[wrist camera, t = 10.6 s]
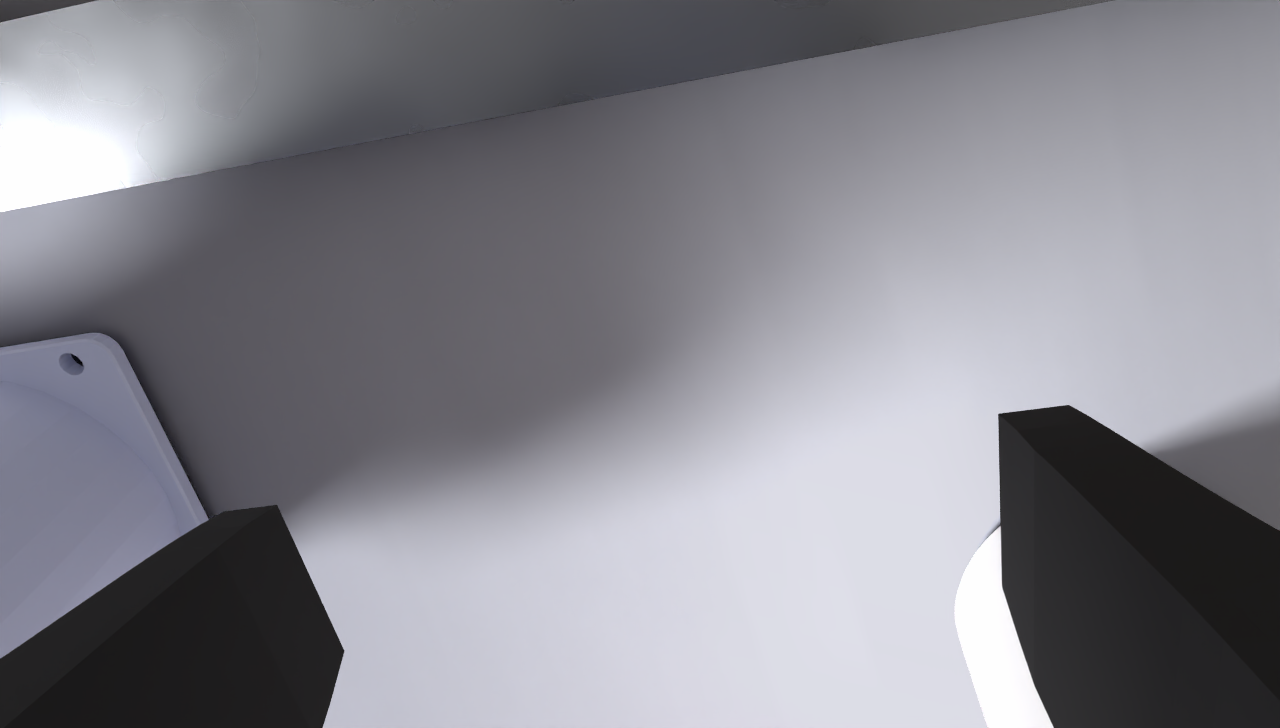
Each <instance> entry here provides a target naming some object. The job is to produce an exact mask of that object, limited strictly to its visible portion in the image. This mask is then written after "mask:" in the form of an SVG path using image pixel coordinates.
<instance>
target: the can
mask: <svg viewBox="0 0 1280 728" xmlns="http://www.w3.org/2000/svg"><path fill="white" fill-rule="evenodd" d="M955 622H956V627H957V632H958V636H959V640H960V643H961V646H962V650H963V653H964V656H965V659H966V662H967V665H968V669H969V672H970V675H971V678H972V681H973V684H974V687H975V690H976V693H977V697H978V700H979V703H980V706H981V709H982V712H983V715H984V718H985V721H986V724H987V727H988V728H1054V727H1053V725H1052V723H1051V721H1050V719H1049V717H1048V714H1047V712H1046V710H1045V708H1044V706H1043V703H1042V701H1041V699H1040V697H1039V695H1038V692H1037V690H1036V688H1035V686H1034V683H1033V680H1032V677H1031V674H1030V671H1029V668H1028V665H1027V662H1026V660H1025V657H1024V654H1023V651H1022V648H1021V645H1020V642H1019V639H1018V636H1017V632H1016V629H1015V626H1014V623H1013V620H1012V617H1011V614H1010V610H1009V607H1008V604H1007V601H1006V598H1005V595H1004V592H1003V588H1002V568H1001V525H1000V526H999V527H998V528H997V529H996V530H995V531H994V532H993V533H992V534H991V535H990V536H989V537H988V538H987V539H986V540H985V541H984V542H983V544H982V545H981V546H980V547H979V549H978V550H977V551H976V553H975V554H974V556H973V557H972V559H971V561H970V562H969V564H968V566H967V568H966V570H965V572H964V575H963V577H962V580H961V582H960V585H959V588H958V592H957V596H956V601H955Z"/></svg>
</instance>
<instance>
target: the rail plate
mask: <svg viewBox="0 0 1280 728" xmlns="http://www.w3.org/2000/svg"><path fill="white" fill-rule="evenodd" d="M1108 1H1113V0H97V1H92V2H88V3H84V4H79V5H75V6H70V7H66V8H62V9H57V10H53V11H48V12H44V13H39V14H35V15H31V16H26V17H22V18H17V19H13V20H9V21H4V22H0V212H2V211H8V210H13V209H18V208H23V207H29V206H34V205H39V204H44V203H50V202H55V201H60V200H65V199H71V198H76V197H81V196H87V195H92V194H97V193H102V192H108V191H113V190H118V189H123V188H129V187H134V186H139V185H144V184H150V183H155V182H160V181H165V180H171V179H176V178H181V177H187V176H192V175H197V174H202V173H208V172H213V171H218V170H223V169H229V168H234V167H239V166H244V165H250V164H255V163H260V162H266V161H271V160H276V159H281V158H287V157H292V156H297V155H302V154H308V153H313V152H318V151H323V150H329V149H334V148H339V147H344V146H350V145H355V144H360V143H366V142H371V141H376V140H381V139H387V138H392V137H397V136H402V135H408V134H413V133H418V132H423V131H429V130H434V129H439V128H444V127H450V126H455V125H460V124H466V123H471V122H476V121H481V120H487V119H492V118H497V117H502V116H508V115H513V114H518V113H523V112H529V111H534V110H539V109H545V108H550V107H555V106H560V105H566V104H571V103H576V102H581V101H587V100H592V99H597V98H602V97H608V96H613V95H618V94H623V93H629V92H634V91H639V90H645V89H650V88H655V87H660V86H666V85H671V84H676V83H681V82H687V81H692V80H697V79H702V78H708V77H713V76H718V75H723V74H729V73H734V72H739V71H745V70H750V69H755V68H760V67H766V66H771V65H776V64H781V63H787V62H792V61H797V60H802V59H808V58H813V57H818V56H824V55H829V54H834V53H839V52H845V51H850V50H855V49H860V48H866V47H871V46H876V45H881V44H887V43H892V42H897V41H902V40H908V39H913V38H918V37H924V36H929V35H934V34H939V33H945V32H950V31H955V30H960V29H966V28H971V27H976V26H981V25H987V24H992V23H997V22H1003V21H1008V20H1013V19H1018V18H1024V17H1029V16H1034V15H1039V14H1045V13H1050V12H1055V11H1060V10H1066V9H1071V8H1076V7H1081V6H1087V5H1092V4H1097V3H1103V2H1108Z"/></svg>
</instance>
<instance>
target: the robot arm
mask: <svg viewBox="0 0 1280 728" xmlns="http://www.w3.org/2000/svg"><path fill="white" fill-rule="evenodd" d="M71 354H73V355H75V356H77V357H78V358H79V359H80V360H81V361H82V362H83V366H81V365H80V364H78V363H76V362H75V361H74V359H73V358H72V356H71ZM998 419H999V469H1000V519H1001V568H1002V588H1003V592H1004V595H1005V598H1006V601H1007V604H1008V607H1009V610H1010V614H1011V617H1012V620H1013V623H1014V626H1015V629H1016V632H1017V636H1018V639H1019V642H1020V645H1021V648H1022V651H1023V654H1024V657H1025V660H1026V662H1027V665H1028V668H1029V671H1030V674H1031V677H1032V680H1033V683H1034V686H1035V688H1036V690H1037V692H1038V695H1039V697H1040V699H1041V701H1042V703H1043V706H1044V708H1045V710H1046V712H1047V714H1048V717H1049V719H1050V721H1051V723H1052V725H1053V727H1054V728H1280V531H1279V530H1277V529H1275V528H1273V527H1272V526H1270V525H1268V524H1266V523H1265V522H1263V521H1261V520H1259V519H1258V518H1256V517H1254V516H1252V515H1251V514H1249V513H1247V512H1246V511H1244V510H1242V509H1240V508H1239V507H1237V506H1235V505H1234V504H1232V503H1230V502H1229V501H1227V500H1225V499H1223V498H1222V497H1220V496H1218V495H1217V494H1215V493H1213V492H1212V491H1210V490H1208V489H1207V488H1205V487H1203V486H1202V485H1200V484H1198V483H1197V482H1195V481H1193V480H1192V479H1190V478H1188V477H1187V476H1185V475H1183V474H1182V473H1180V472H1179V471H1177V470H1175V469H1174V468H1172V467H1170V466H1169V465H1167V464H1166V463H1164V462H1162V461H1161V460H1159V459H1157V458H1156V457H1154V456H1153V455H1151V454H1149V453H1148V452H1146V451H1144V450H1143V449H1141V448H1140V447H1138V446H1136V445H1135V444H1133V443H1132V442H1130V441H1128V440H1127V439H1125V438H1123V437H1122V436H1120V435H1119V434H1117V433H1115V432H1114V431H1112V430H1111V429H1109V428H1107V427H1106V426H1104V425H1102V424H1101V423H1099V422H1097V421H1096V420H1094V419H1092V418H1091V417H1089V416H1087V415H1086V414H1084V413H1082V412H1080V411H1079V410H1077V409H1075V408H1073V407H1071V406H1069V405H1065V406H1057V407H1049V408H1041V409H1033V410H1025V411H1017V412H1009V413H1002V414H998ZM343 654H344V649H343V647H342V645H341V643H340V641H339V638H338V636H337V634H336V632H335V630H334V628H333V625H332V623H331V621H330V619H329V617H328V615H327V612H326V610H325V608H324V606H323V604H322V602H321V599H320V597H319V595H318V593H317V591H316V589H315V586H314V584H313V582H312V580H311V578H310V576H309V573H308V571H307V569H306V567H305V565H304V562H303V560H302V558H301V556H300V554H299V552H298V549H297V547H296V545H295V543H294V541H293V539H292V536H291V534H290V532H289V530H288V528H287V526H286V523H285V521H284V519H283V517H282V515H281V513H280V510H279V508H278V506H277V505H273V506H265V507H257V508H249V509H241V510H233V511H225V512H223V513H221V514H219V515H217V516H215V517H213V518H211V519H210V520H209V519H208V517H207V515H206V513H205V511H204V509H203V507H202V505H201V503H200V501H199V499H198V497H197V495H196V493H195V491H194V489H193V487H192V485H191V483H190V481H189V480H188V478H187V476H186V474H185V472H184V470H183V468H182V466H181V464H180V462H179V460H178V458H177V456H176V454H175V452H174V450H173V448H172V446H171V444H170V442H169V440H168V438H167V436H166V434H165V432H164V430H163V428H162V426H161V424H160V422H159V420H158V418H157V416H156V414H155V412H154V410H153V408H152V406H151V404H150V403H149V401H148V399H147V397H146V395H145V393H144V391H143V389H142V387H141V385H140V383H139V381H138V379H137V377H136V375H135V373H134V371H133V369H132V367H131V365H130V363H129V361H128V359H127V357H126V355H125V353H124V351H123V350H122V348H121V347H120V345H119V344H118V343H117V342H116V341H115V340H113V339H112V338H111V337H109V336H107V335H104V334H102V333H87V334H80V335H74V336H68V337H62V338H56V339H50V340H44V341H38V342H32V343H25V344H19V345H13V346H7V347H1V348H0V728H322V727H323V724H324V721H325V718H326V715H327V711H328V708H329V705H330V702H331V698H332V695H333V691H334V687H335V683H336V680H337V676H338V672H339V669H340V665H341V661H342V657H343Z"/></svg>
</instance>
